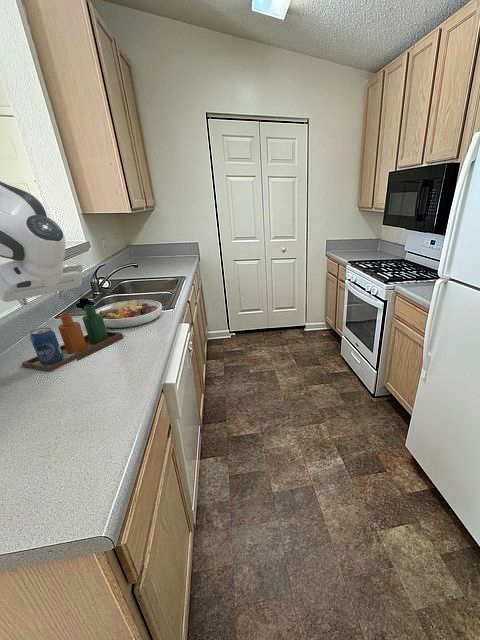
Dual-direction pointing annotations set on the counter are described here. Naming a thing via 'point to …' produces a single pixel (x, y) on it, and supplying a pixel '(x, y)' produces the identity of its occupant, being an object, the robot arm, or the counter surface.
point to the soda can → (46, 346)
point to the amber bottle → (72, 334)
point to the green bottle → (94, 325)
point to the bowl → (129, 313)
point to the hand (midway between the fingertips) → (41, 299)
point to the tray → (90, 350)
